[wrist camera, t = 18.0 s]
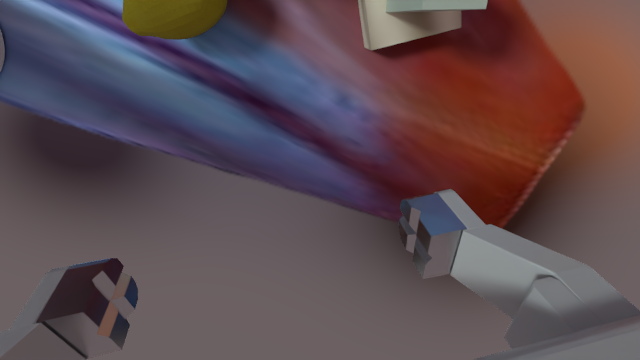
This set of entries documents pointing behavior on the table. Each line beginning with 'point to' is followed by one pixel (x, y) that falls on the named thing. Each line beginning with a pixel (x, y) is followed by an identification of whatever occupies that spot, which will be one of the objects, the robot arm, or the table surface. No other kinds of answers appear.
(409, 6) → the sage block
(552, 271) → the robot arm
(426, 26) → the birch block
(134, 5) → the lemon
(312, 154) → the table surface
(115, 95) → the table surface
